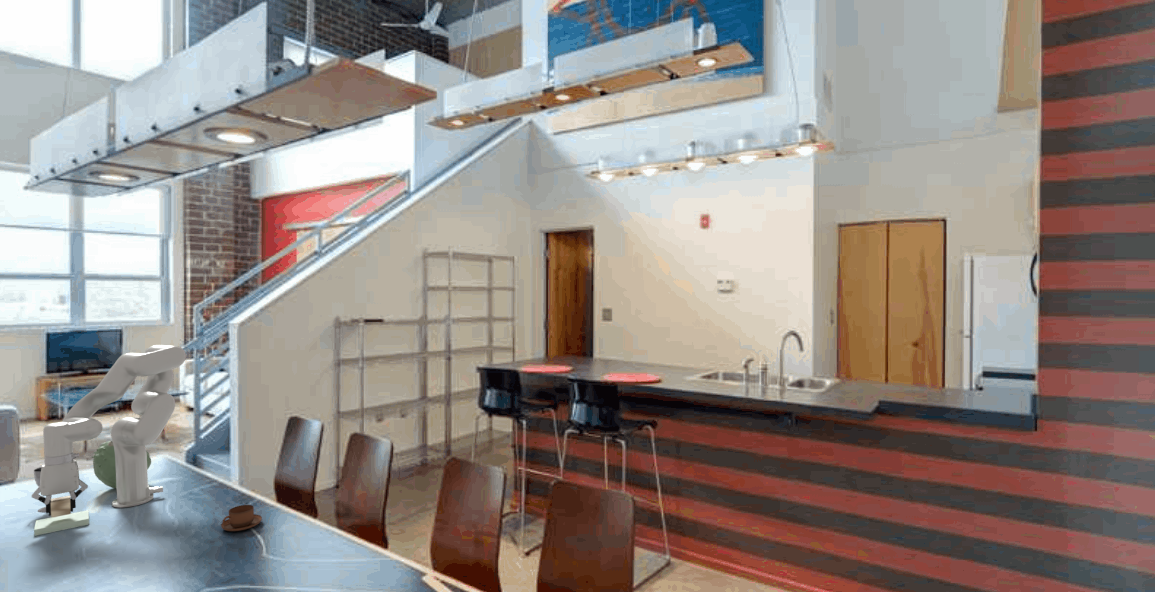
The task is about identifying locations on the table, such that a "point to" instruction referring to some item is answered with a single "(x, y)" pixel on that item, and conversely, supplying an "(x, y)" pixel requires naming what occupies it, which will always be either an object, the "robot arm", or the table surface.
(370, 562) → the table surface
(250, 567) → the table surface
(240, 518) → the cup and saucer
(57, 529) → the sage board
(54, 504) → the birch cube
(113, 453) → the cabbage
